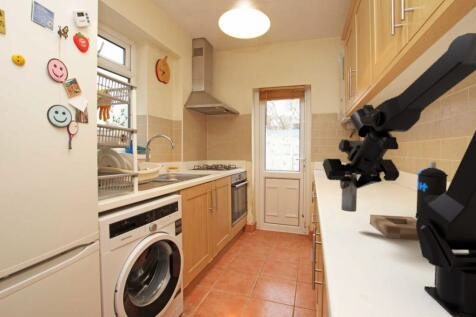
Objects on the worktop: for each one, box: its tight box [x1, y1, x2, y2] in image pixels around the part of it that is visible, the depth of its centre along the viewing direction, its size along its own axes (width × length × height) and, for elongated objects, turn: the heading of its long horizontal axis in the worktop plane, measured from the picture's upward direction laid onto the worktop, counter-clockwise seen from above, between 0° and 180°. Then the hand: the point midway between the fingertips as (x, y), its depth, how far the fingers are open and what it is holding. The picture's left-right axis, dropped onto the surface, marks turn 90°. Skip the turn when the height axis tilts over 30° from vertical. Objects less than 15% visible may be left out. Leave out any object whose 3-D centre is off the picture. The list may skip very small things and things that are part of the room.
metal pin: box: [340, 174, 358, 213], centre depth 68 cm, size 4×4×12 cm
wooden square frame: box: [369, 214, 419, 241], centre depth 67 cm, size 12×12×3 cm
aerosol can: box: [414, 161, 449, 219], centre depth 79 cm, size 8×8×20 cm
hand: (348, 187), depth 68 cm, fingers closed on metal pin, 4 cm apart
